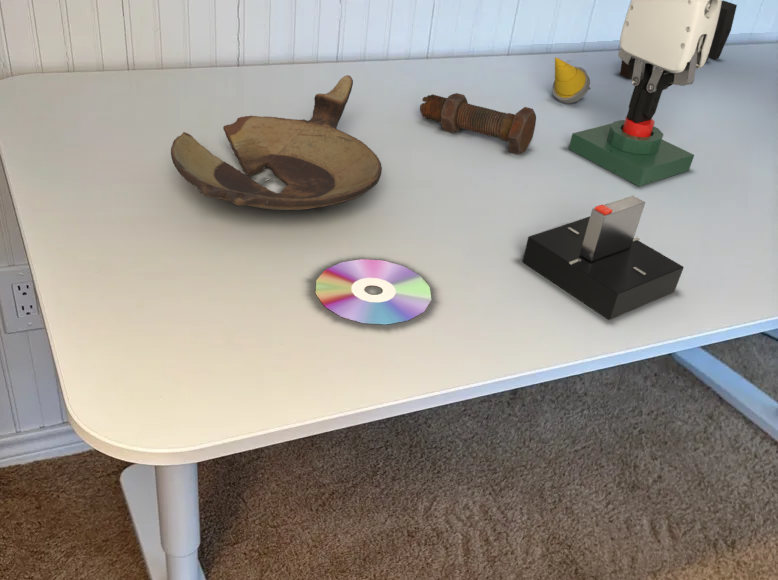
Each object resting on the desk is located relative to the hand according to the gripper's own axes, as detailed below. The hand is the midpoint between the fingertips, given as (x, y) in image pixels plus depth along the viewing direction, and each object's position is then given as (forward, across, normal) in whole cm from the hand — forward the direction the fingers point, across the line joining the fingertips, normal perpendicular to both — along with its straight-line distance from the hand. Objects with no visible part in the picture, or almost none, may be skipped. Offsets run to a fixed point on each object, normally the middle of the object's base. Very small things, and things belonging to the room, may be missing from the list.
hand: (638, 119), depth 104 cm
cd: (+6, -9, +48) cm, 49 cm away
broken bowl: (+6, +13, +43) cm, 45 cm away
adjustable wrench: (+6, +22, -37) cm, 43 cm away
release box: (+5, 0, 0) cm, 5 cm away
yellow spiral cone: (+6, +18, -7) cm, 20 cm away
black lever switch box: (+5, -18, +26) cm, 32 cm away
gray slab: (+2, -18, +26) cm, 32 cm away
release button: (+2, 0, 0) cm, 2 cm away
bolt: (+6, +15, +14) cm, 21 cm away
